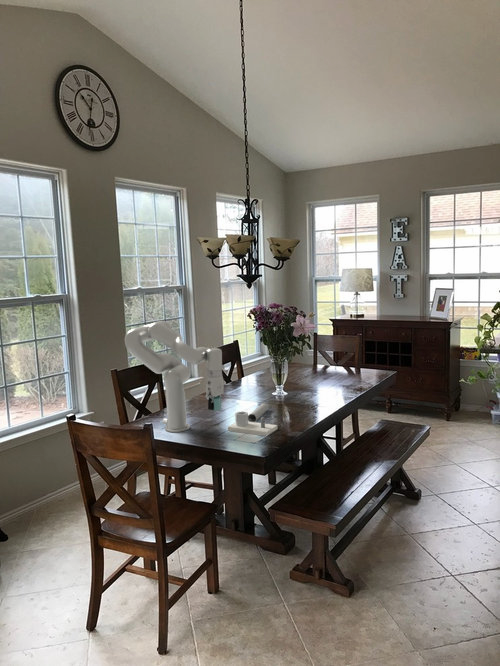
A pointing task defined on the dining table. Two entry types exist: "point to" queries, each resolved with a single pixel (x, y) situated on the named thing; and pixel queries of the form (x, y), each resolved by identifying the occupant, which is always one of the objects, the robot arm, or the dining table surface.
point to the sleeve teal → (217, 403)
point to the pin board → (254, 428)
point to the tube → (257, 413)
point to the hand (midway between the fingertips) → (214, 407)
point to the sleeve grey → (241, 418)
